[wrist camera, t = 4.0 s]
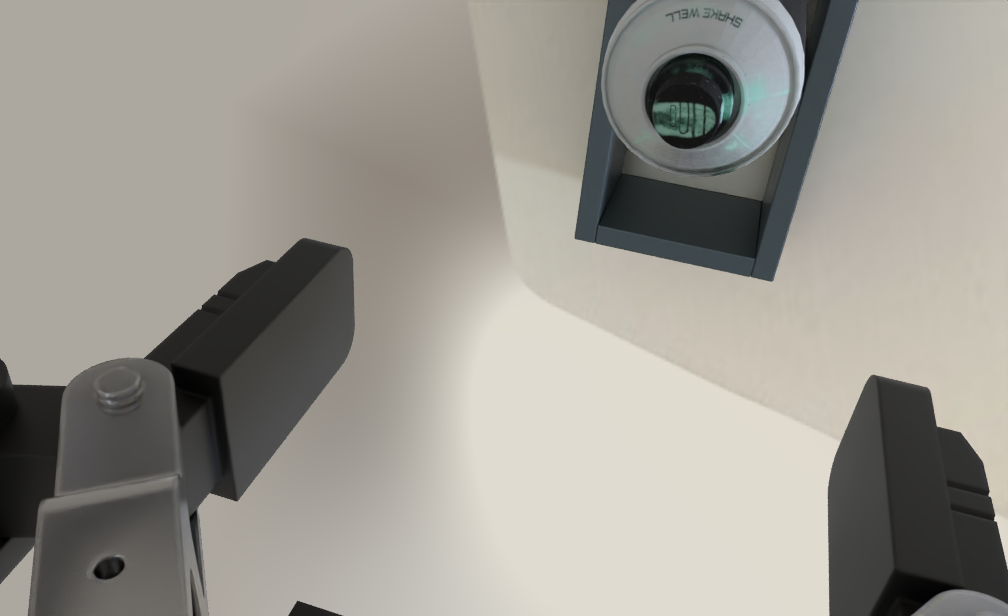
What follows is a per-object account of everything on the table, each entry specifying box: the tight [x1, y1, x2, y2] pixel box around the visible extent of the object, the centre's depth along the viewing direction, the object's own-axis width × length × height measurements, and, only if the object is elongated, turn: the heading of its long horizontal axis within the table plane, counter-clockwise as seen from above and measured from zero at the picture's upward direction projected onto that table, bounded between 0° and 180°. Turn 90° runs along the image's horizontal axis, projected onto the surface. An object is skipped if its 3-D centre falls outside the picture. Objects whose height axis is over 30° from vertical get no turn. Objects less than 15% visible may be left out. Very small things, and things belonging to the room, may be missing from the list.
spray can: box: [601, 0, 807, 177], centre depth 29 cm, size 6×6×20 cm
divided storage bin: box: [575, 0, 859, 281], centre depth 37 cm, size 9×16×6 cm, turn 175°
